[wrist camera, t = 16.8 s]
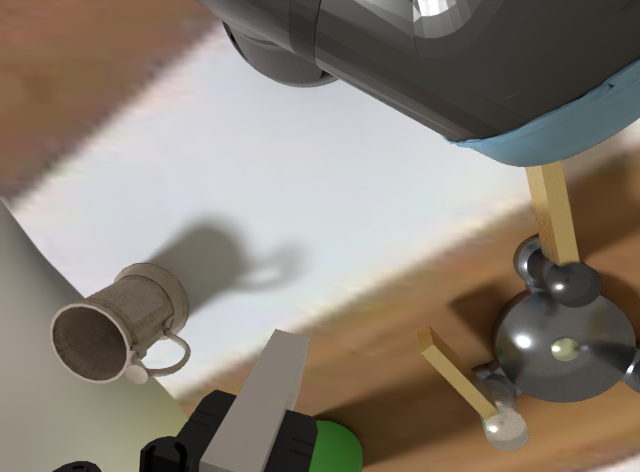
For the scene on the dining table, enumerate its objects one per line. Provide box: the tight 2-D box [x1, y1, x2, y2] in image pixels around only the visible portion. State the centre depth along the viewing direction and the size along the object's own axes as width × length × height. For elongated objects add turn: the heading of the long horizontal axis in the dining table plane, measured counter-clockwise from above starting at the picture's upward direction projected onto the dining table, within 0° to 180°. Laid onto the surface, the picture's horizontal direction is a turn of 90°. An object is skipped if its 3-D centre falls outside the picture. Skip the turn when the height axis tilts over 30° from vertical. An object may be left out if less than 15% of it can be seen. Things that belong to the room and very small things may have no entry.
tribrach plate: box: [467, 235, 640, 412], centre depth 37 cm, size 20×18×2 cm
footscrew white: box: [418, 326, 529, 451], centre depth 36 cm, size 12×4×6 cm, turn 44°
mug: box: [50, 263, 191, 384], centre depth 39 cm, size 14×10×12 cm
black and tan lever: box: [525, 160, 602, 308], centre depth 31 cm, size 12×4×6 cm, turn 17°
